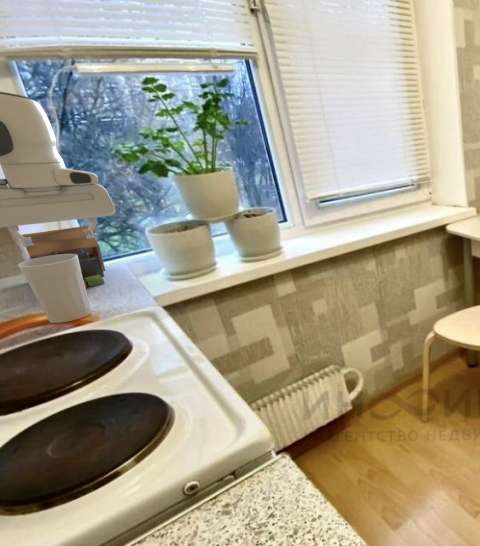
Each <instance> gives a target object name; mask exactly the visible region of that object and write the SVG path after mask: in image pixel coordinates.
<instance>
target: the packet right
mask: <svg viewBox="0 0 480 546" xmlns="http://www.w3.org/2000/svg"><path fill="white" fill-rule="evenodd" d="M84 279H85V280H84V281H85V282H86V284H87V287H90V288H91V287H95V286H100V285H104V284H105V280H104V278H103V277H101V276H100V275H96V276H91V277H86V278H84Z"/></svg>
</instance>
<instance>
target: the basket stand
mask: <svg viewBox="0 0 480 546" xmlns="http://www.w3.org/2000/svg"><path fill="white" fill-rule="evenodd" d="M28 258H29V259H28V260H30V257H29V256H28ZM79 264H80V268H81V273H82V277H83V280H84V281H85V279H84V278H86V277H91V276H96V275H100V276H101V277H102V278H103V277H105V273H104V271H102V270H101V268H100V266H99V264H98V262H97V260H96V259H93V260H87V261H82V262H79Z"/></svg>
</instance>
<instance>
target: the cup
mask: <svg viewBox="0 0 480 546" xmlns="http://www.w3.org/2000/svg"><path fill="white" fill-rule="evenodd" d="M17 266H18V267H19V269H20V271H21V273H22V274H23V276H24V278H25V280H26V281H27V283H28V285H29V287H30V288H31V290H32V292H33V294H34V296H35V298H36V299H37V301H38V303H39V304H40V307H41V309H42V310H43V312H44V314H45V315H46V318H47V320H48V322H49V321H50V322H49V323H50V324H51V323H52V324H60V323H67V322H73V321H76V320H79V319H83V318H86V317H87V316H89V315H91V314H92V313H93V307H91V304H90V300H89V296H88V293H87V287H86V288H85V285H84V281H85V280H84V281H83V277H82V273H81V268H80V264H79V259H78V255H76V254H59V255H51V256H45V257H39V258H35V259H31V260H30V259H27V260H25V261H21V262H19V263H18V264H17Z"/></svg>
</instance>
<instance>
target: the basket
mask: <svg viewBox="0 0 480 546" xmlns="http://www.w3.org/2000/svg"><path fill="white" fill-rule="evenodd" d="M88 228H89V225H83V226H76V227H68V228H62V229H53V230H45V231H39V232H32V233H25V234H21V235H22V236H24V237H31V239H32V242H33V244H34V246H30V247H25V250H26V252H27V254H28V258H29V257H30V259H29V260H31V259H35V258H39V257H45V256H51V255H59V254H76V255H78V259H79V262H82V261H87V260H93V259H96V260H97V262H98V264H99V266H100V268H101V270H102V271H103V272H106V267H105V263H104V259H103V255H102V250H101V247H100V243H99V241H98V240H97V238H96V237H95V238H89V239H86V238H85V234H84V232H83V230H88Z"/></svg>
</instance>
